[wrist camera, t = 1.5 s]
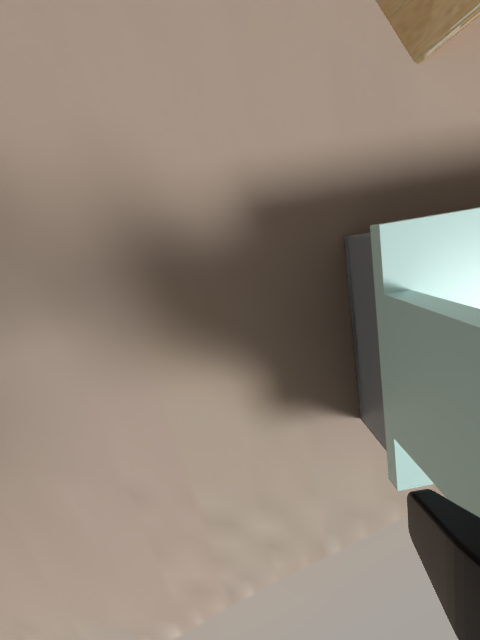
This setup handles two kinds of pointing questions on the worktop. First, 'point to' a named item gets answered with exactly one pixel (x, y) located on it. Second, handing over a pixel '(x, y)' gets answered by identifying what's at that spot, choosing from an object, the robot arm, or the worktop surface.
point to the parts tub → (365, 332)
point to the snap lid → (431, 351)
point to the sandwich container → (428, 22)
